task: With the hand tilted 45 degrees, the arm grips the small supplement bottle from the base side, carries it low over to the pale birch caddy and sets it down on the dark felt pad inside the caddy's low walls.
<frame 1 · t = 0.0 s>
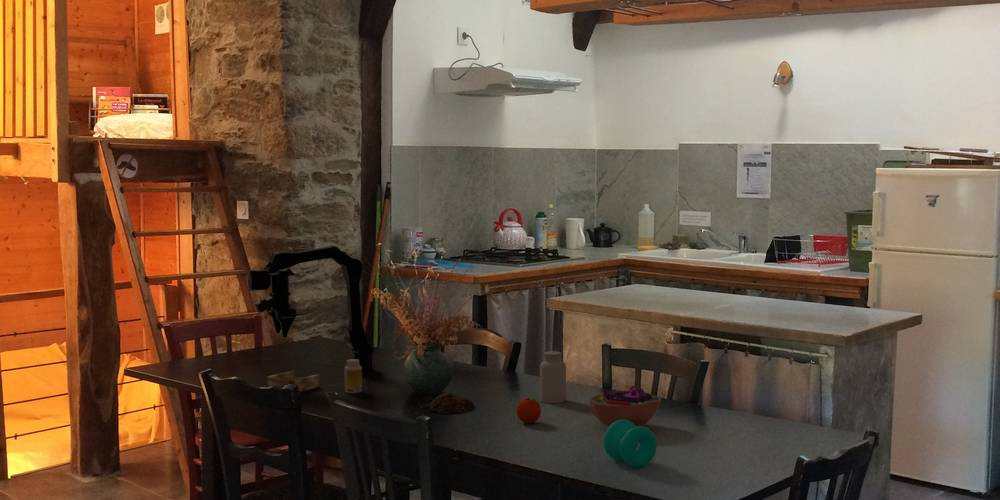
hand: (281, 335, 347), 15 cm above the table, tool pointing down, fingers open, 9 cm apart
tomato: (530, 423, 288), on the table
bread roll: (449, 410, 305), on the table
supplement bottle: (353, 392, 327), on the table
cell model: (624, 428, 283), on the table
green spool: (629, 464, 249), on the table
pill bottle: (553, 401, 314), on the table
caddy: (292, 388, 333), on the table
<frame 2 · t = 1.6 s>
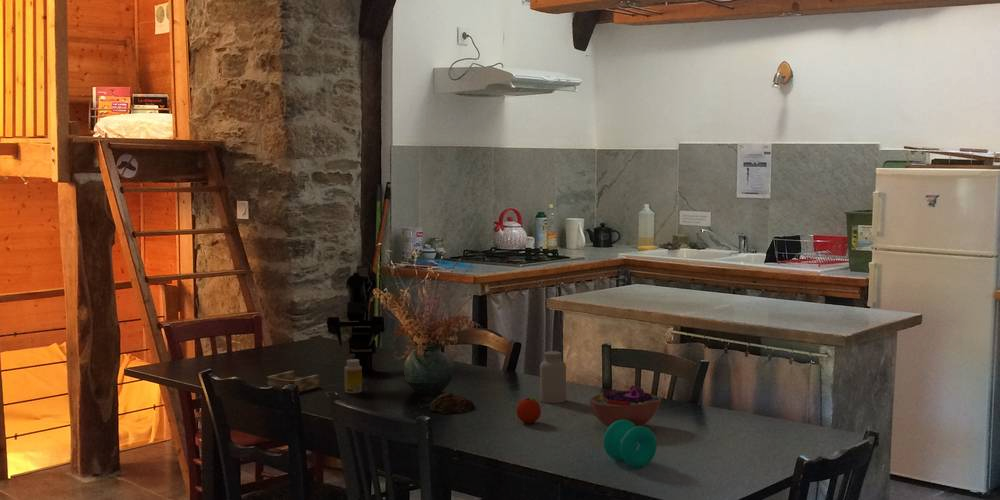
hand: (354, 345, 334), 13 cm above the table, tool tilted 45°, fingers open, 9 cm apart
nothing on the table moved.
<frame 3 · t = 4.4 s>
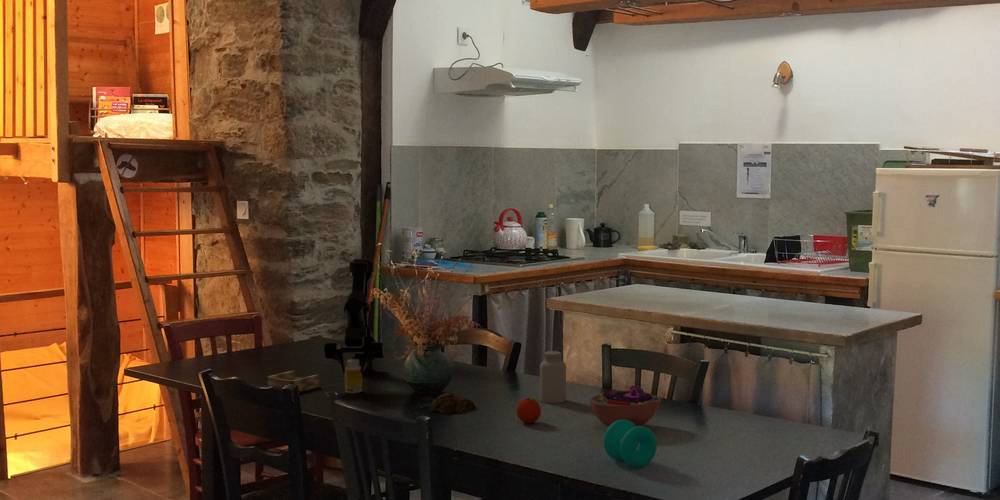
hand: (352, 372, 325), 7 cm above the table, tool tilted 45°, fingers closed on supplement bottle, 6 cm apart
supplement bottle: (353, 392, 327), on the table, touching gripper
everything else where it was.
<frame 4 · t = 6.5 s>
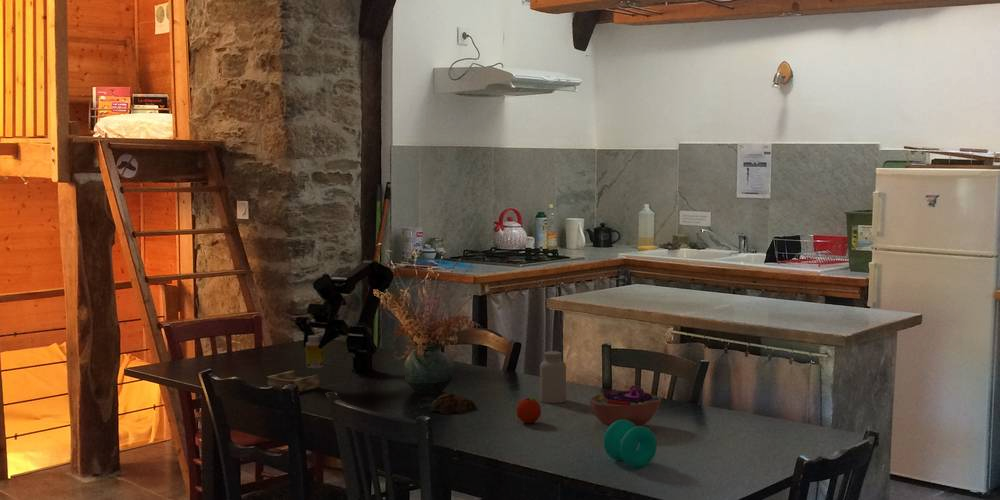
hand: (311, 347, 333), 13 cm above the table, tool tilted 45°, fingers closed on supplement bottle, 6 cm apart
supplement bottle: (314, 367, 335), point 6 cm above the table, touching gripper
everything else where it was.
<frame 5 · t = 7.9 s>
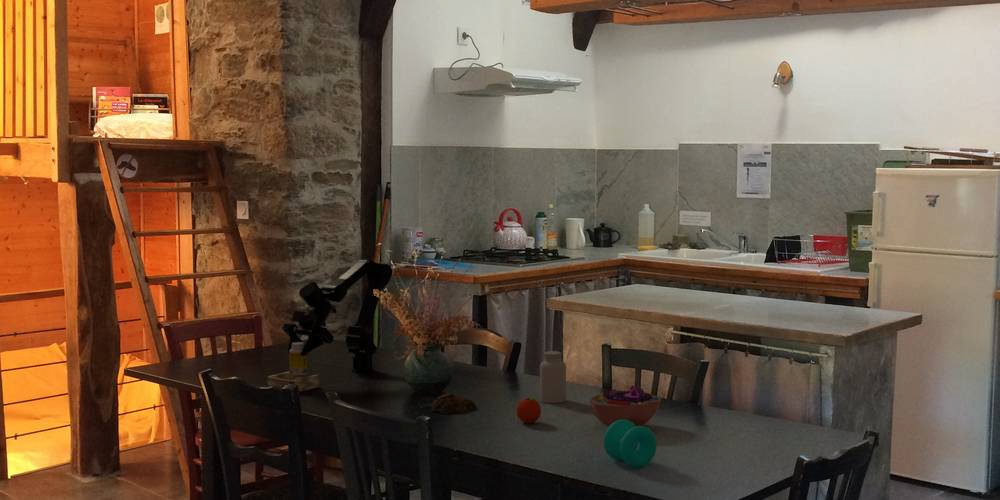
hand: (295, 354, 333), 11 cm above the table, tool tilted 45°, fingers closed on supplement bottle, 6 cm apart
supplement bottle: (298, 374, 335), point 4 cm above the table, touching gripper
everything else where it was.
when the fingers open (9 cm above the table, at t = 9.1 s): supplement bottle stays where it is, resting on caddy.
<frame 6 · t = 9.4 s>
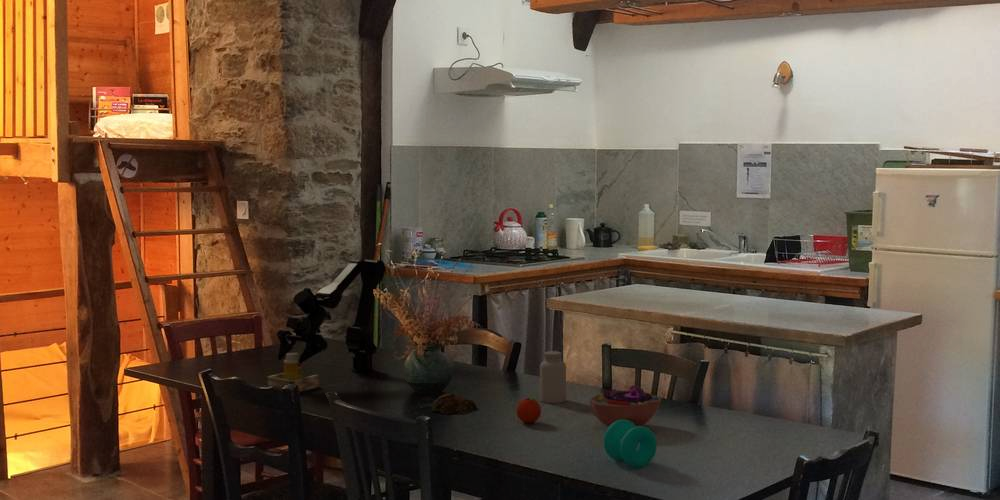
hand: (289, 361, 331), 9 cm above the table, tool tilted 45°, fingers open, 9 cm apart
supplement bottle: (293, 385, 333), point 1 cm above the table, touching caddy
everything else where it was.
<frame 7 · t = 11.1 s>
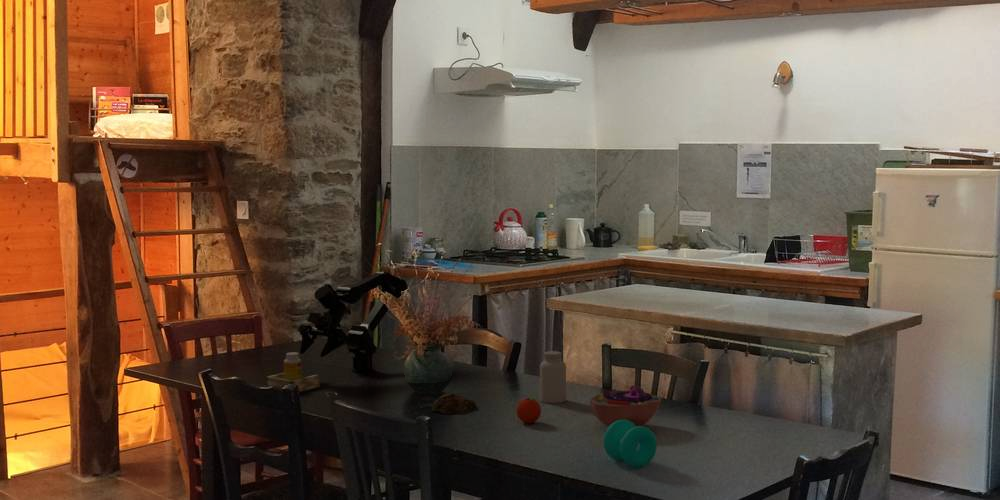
hand: (310, 355, 339), 9 cm above the table, tool tilted 45°, fingers open, 9 cm apart
nothing on the table moved.
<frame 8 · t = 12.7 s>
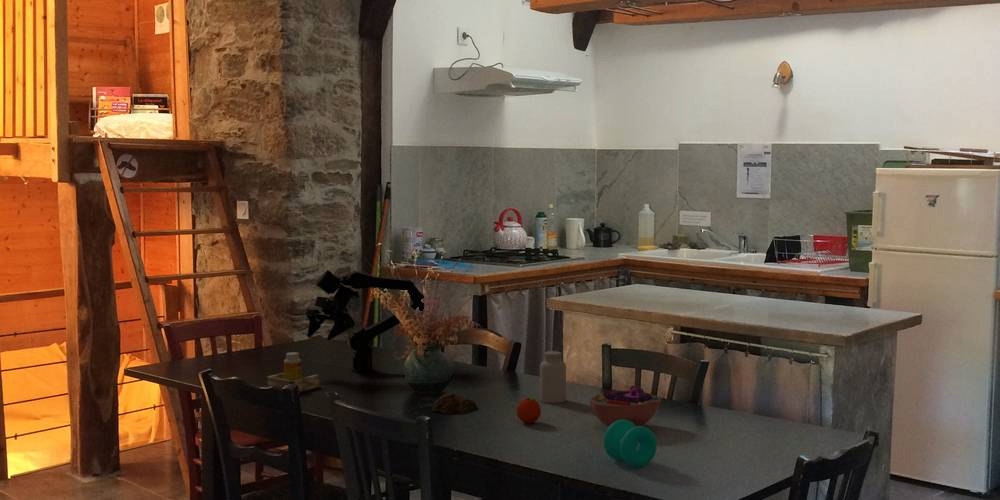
hand: (318, 338, 347), 14 cm above the table, tool tilted 45°, fingers open, 9 cm apart
nothing on the table moved.
at the end: supplement bottle 0.2 cm from the caddy (horizontally); supplement bottle point 0.9 cm above the table; supplement bottle tilted 0° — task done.
